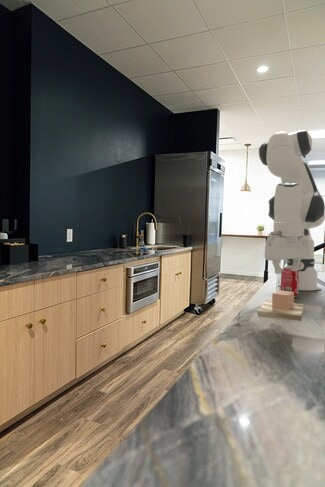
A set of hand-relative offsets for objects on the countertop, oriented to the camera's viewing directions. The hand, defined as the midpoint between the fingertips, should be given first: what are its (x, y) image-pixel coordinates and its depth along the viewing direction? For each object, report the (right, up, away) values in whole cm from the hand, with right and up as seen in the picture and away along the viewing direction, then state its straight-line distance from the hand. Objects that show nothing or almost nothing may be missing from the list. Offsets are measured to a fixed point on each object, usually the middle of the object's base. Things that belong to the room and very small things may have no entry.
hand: (286, 272), depth 110 cm
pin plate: (-1, -14, +1) cm, 14 cm away
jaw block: (-1, -12, +1) cm, 12 cm away
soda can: (+11, -13, +25) cm, 30 cm away
